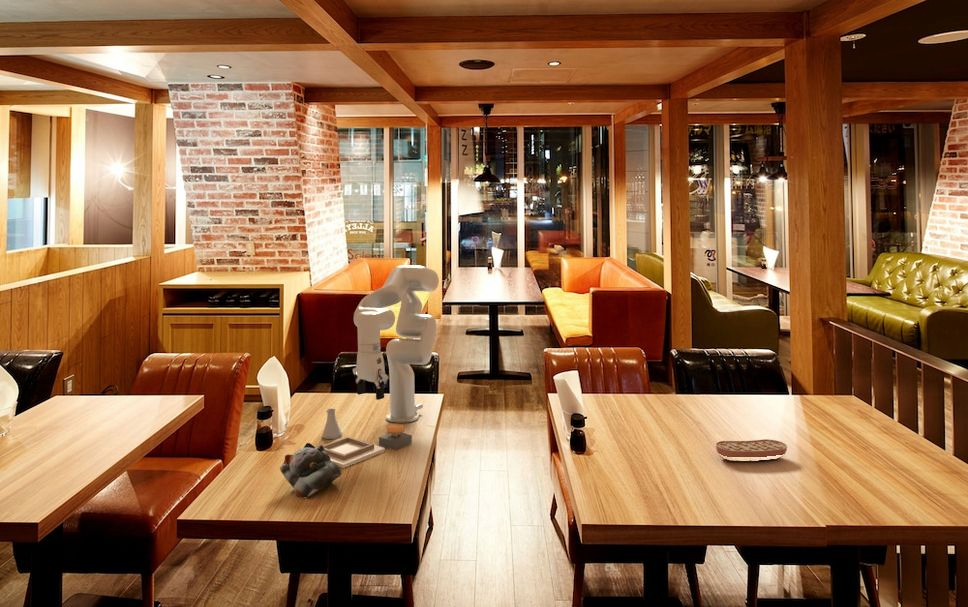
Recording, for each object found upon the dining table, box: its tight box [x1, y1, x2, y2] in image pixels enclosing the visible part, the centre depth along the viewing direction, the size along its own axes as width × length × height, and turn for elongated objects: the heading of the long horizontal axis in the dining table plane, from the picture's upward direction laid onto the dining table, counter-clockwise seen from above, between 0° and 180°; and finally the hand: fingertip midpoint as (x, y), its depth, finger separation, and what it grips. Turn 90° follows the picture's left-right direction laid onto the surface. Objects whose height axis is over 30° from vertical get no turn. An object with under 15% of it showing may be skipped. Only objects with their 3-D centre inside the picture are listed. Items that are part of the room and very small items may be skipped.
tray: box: [322, 436, 386, 469], centre depth 213 cm, size 18×18×3 cm
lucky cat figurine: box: [279, 442, 342, 499], centre depth 186 cm, size 15×12×14 cm
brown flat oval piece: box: [715, 438, 788, 457], centre depth 207 cm, size 23×10×5 cm, turn 95°
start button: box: [385, 423, 405, 438], centre depth 221 cm, size 6×6×4 cm
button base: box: [378, 432, 413, 451], centre depth 222 cm, size 8×8×3 cm
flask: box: [321, 407, 343, 440], centre depth 229 cm, size 7×7×10 cm
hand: (370, 396), depth 220 cm, fingers open, 9 cm apart
